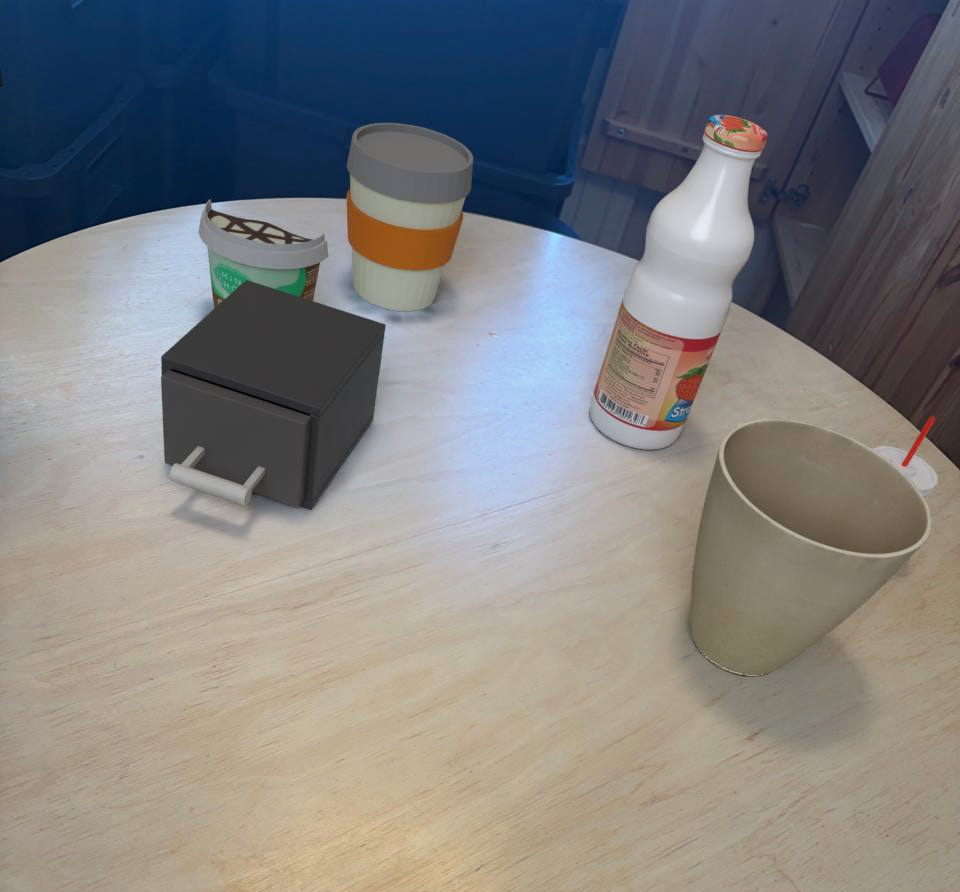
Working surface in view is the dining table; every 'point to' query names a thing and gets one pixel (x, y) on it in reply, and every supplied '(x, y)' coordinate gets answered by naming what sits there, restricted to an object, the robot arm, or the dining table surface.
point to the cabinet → (292, 366)
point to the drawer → (233, 441)
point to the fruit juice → (679, 293)
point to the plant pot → (795, 540)
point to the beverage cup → (913, 462)
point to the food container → (258, 255)
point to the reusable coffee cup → (404, 211)
